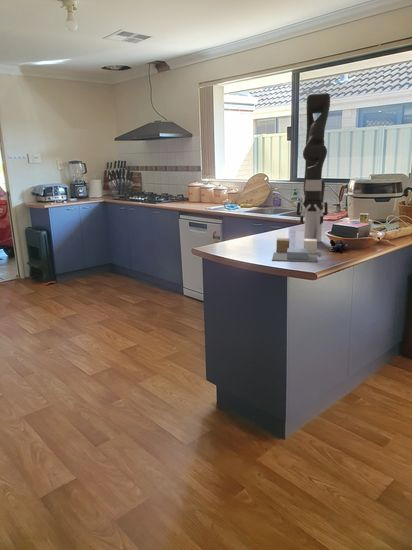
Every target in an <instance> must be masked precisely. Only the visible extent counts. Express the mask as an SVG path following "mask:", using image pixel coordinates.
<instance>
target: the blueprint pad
mask: <svg viewBox="0 0 412 550" xmlns="http://www.w3.org/2000/svg"><path fill="white" fill-rule="evenodd" d="M271 261H272V262H290V263H291V262H297V263H319V259H318V253H308V250H307V249H304V247H303V248H301V247H300V248H299V247H298V248H295V247H294V248H293V247H289V248H288V250H287V253H286V252H276V251H274V252H273V255H272V259H271Z"/></svg>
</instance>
